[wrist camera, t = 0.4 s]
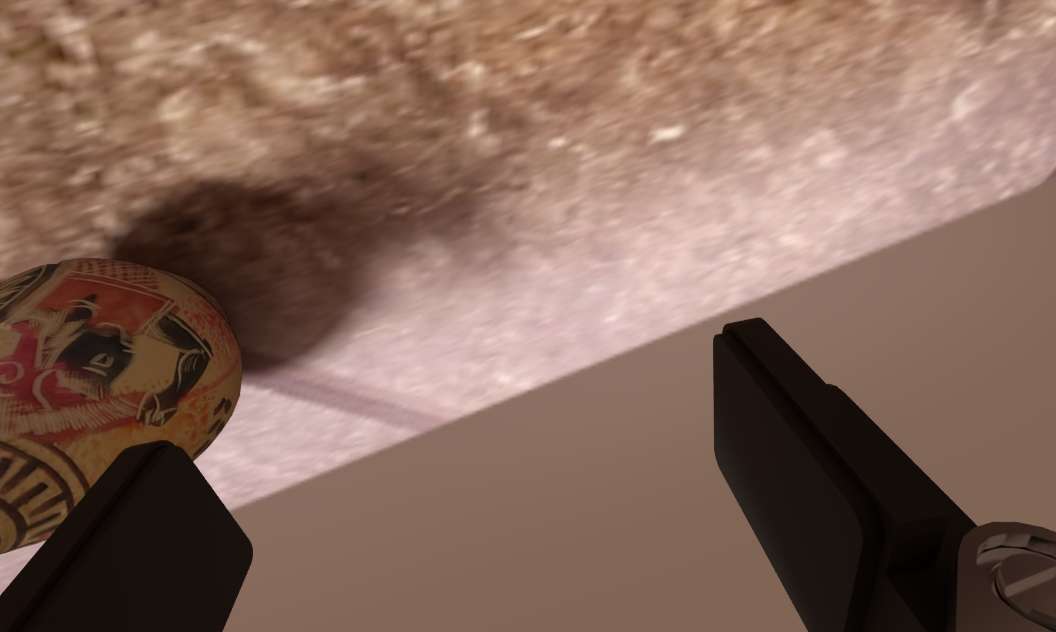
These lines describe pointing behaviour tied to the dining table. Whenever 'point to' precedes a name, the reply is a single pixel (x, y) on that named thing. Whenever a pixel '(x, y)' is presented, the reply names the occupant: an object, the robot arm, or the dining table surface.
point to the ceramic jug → (102, 380)
